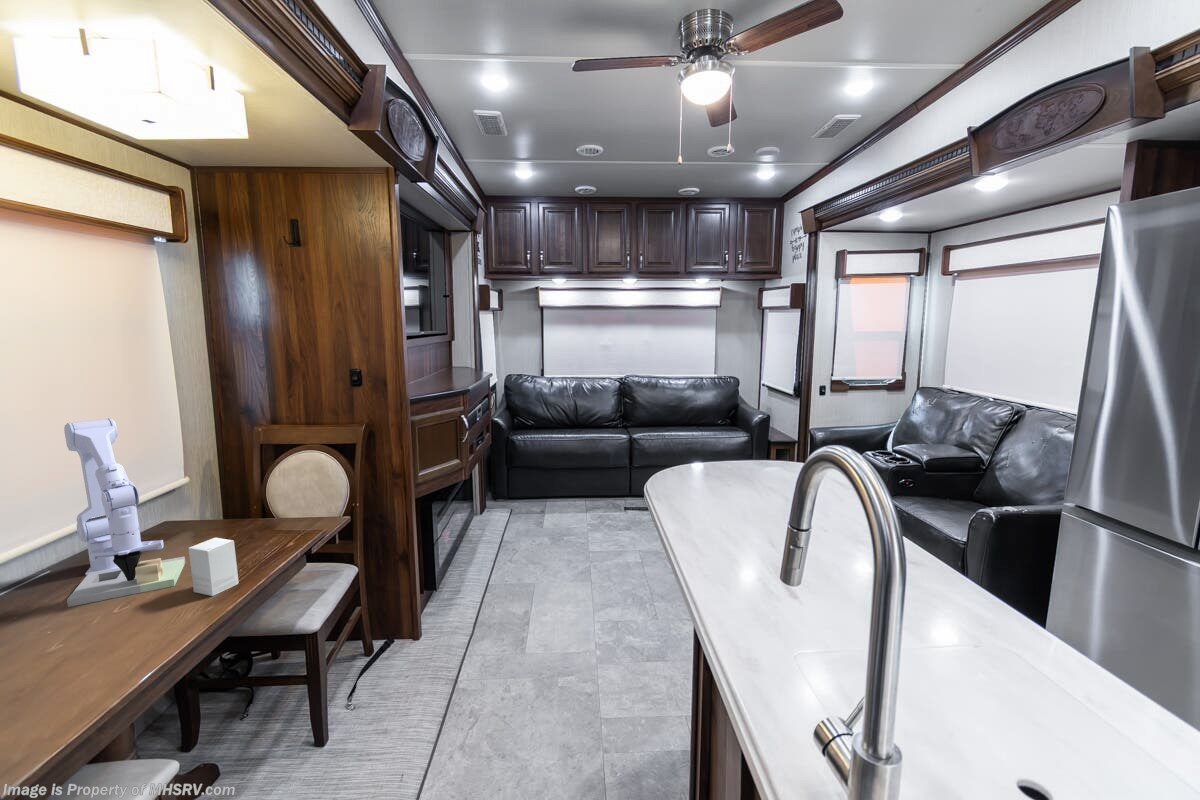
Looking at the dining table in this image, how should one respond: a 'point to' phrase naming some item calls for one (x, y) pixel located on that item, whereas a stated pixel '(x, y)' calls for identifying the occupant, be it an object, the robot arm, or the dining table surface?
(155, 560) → the maple block
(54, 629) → the dining table surface
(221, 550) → the supplement box
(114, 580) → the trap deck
